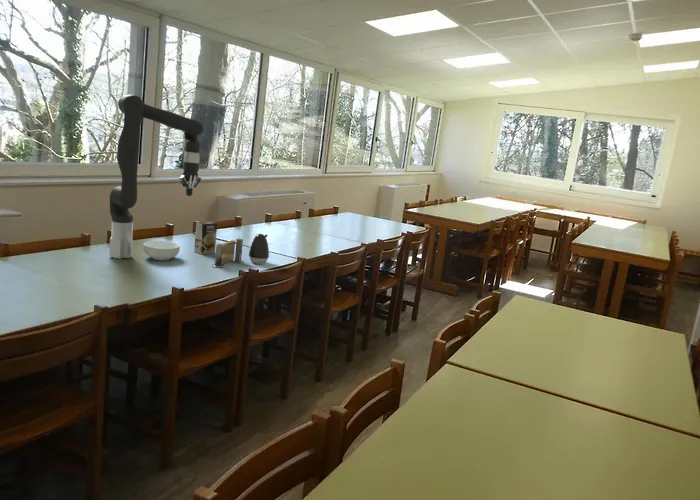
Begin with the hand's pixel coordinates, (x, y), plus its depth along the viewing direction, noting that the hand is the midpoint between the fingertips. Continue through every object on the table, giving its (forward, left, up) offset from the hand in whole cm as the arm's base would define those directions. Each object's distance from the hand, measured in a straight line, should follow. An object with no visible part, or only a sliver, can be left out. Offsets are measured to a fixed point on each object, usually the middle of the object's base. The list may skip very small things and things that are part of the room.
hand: (188, 195), depth 272 cm
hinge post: (-12, -26, -30) cm, 41 cm away
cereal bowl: (-17, +2, -30) cm, 35 cm away
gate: (-3, -25, -29) cm, 39 cm away
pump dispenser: (+8, -38, -30) cm, 49 cm away
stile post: (+2, -29, -30) cm, 42 cm away
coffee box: (+8, -7, -30) cm, 32 cm away
